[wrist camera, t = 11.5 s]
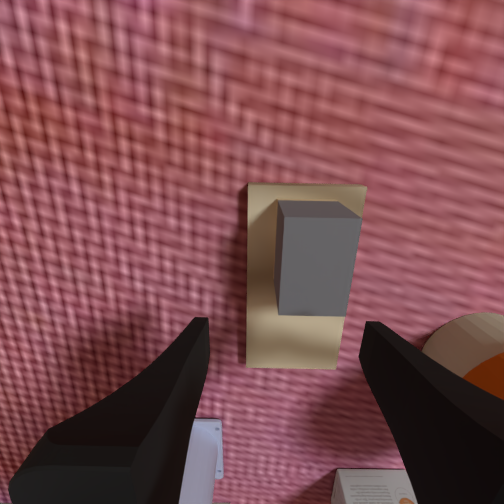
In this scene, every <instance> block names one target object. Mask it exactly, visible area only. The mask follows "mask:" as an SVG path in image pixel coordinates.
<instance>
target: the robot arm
mask: <svg viewBox="0 0 504 504" xmlns="http://www.w3.org/2000/svg"><path fill="white" fill-rule="evenodd" d="M209 356H210V344H209V321H208V318H206V317H195V318H194V319H193V320H192V321H191V322H190V323H189V324H188V326H187V327H186V328H185V329H184V330H183V332H182V333H181V334H180V335H179V336H178V337H177V338H176V339H175V341H174V342H173V343H172V344H171V345H170V346H169V347H168V348H167V349H166V350H165V351H164V352H163V353H162V354H161V355H160V356H159V357H158V358H157V359H156V360H155V361H154V362H152V363H151V364H150V365H149V366H148V367H147V368H146V369H144V370H143V371H142V372H141V373H140V374H138V375H137V376H136V377H135V378H133V379H132V380H131V381H129V382H128V383H126V384H125V385H123V386H122V387H121V388H119V389H118V390H116V391H115V392H114V393H112V394H111V395H109V396H107V397H106V398H104V399H103V400H101V401H99V402H98V403H96V404H94V405H93V406H91V407H89V408H88V409H86V410H84V411H82V412H80V413H79V414H77V415H75V416H73V417H71V418H69V419H67V420H65V421H63V422H61V423H59V424H57V425H56V426H54V427H51V428H49V429H48V430H47V432H46V433H45V434H44V435H43V437H42V438H41V439H40V440H39V441H38V443H37V444H36V445H35V447H34V448H33V450H32V451H31V452H30V454H29V455H28V457H27V458H26V459H25V461H24V462H23V464H22V465H21V466H20V468H19V469H18V471H17V472H16V473H15V475H14V476H13V478H12V479H11V480H10V483H9V488H8V490H9V495H10V498H11V501H12V503H13V504H212V499H213V491H214V483H215V479H222V478H223V474H224V471H223V443H222V422H221V420H219V419H195V415H196V412H197V408H198V405H199V401H200V397H201V394H202V390H203V386H204V383H205V379H206V375H207V369H208V363H209ZM359 360H360V363H361V366H362V369H363V372H364V375H365V378H366V380H367V382H368V384H369V386H370V389H371V391H372V393H373V395H374V397H375V399H376V401H377V403H378V405H379V407H380V409H381V411H382V413H383V415H384V417H385V419H386V422H387V424H388V426H389V428H390V430H391V432H392V435H393V437H394V439H395V442H396V444H397V447H398V450H399V452H400V455H401V458H402V460H403V463H404V466H405V468H406V471H407V474H408V477H409V480H410V483H411V485H412V488H413V491H414V494H415V497H416V500H417V503H418V504H504V400H502V399H500V398H498V397H496V396H494V395H492V394H490V393H489V392H487V391H485V390H483V389H481V388H479V387H477V386H475V385H474V384H472V383H470V382H468V381H467V380H465V379H463V378H462V377H460V376H458V375H456V374H455V373H453V372H451V371H450V370H448V369H447V368H445V367H444V366H442V365H441V364H439V363H437V362H436V361H434V360H433V359H431V358H430V357H428V356H427V355H426V354H424V353H423V352H421V351H420V350H418V349H417V348H416V347H414V346H413V345H412V344H410V343H409V342H407V341H406V340H405V339H403V338H402V337H401V336H399V335H398V334H397V333H395V332H394V331H392V330H391V329H390V328H388V327H387V326H385V325H384V324H382V323H381V322H375V321H366V324H365V329H364V334H363V338H362V343H361V348H360V352H359Z"/></svg>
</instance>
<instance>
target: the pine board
mask: <svg viewBox="0 0 504 504" xmlns="http://www.w3.org/2000/svg"><path fill="white" fill-rule="evenodd" d="M366 191H367V187H366V186H363V185H361V184H306V183H252V182H248V240H247V332H246V367H247V368H295V369H336V365H337V359H338V353H339V348H340V342H341V336H342V330H343V324H344V318H345V317H336V316H287V315H278V309H277V302H276V294H275V287H274V279H273V270H274V251H275V231H276V212H277V198H278V199H331V200H337V201H338V202H340V203H341V204H343V205H344V206H345V207H347V208H348V209H350V210H351V211H353V212H354V213H355V214H357V215H358V216H360V217H361V218H362V214H363V208H364V202H365V196H366Z"/></svg>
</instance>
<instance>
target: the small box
mask: <svg viewBox="0 0 504 504" xmlns="http://www.w3.org/2000/svg"><path fill="white" fill-rule="evenodd" d="M331 504H418V503H417V500H416V497H415V494H414V491H413V488H412V485H411V483H410V480H409V477H408V475H407V473H406V471H405V470H404V469H399V470H397V469H337V471H336V476H335V481H334V486H333V491H332V496H331Z"/></svg>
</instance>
